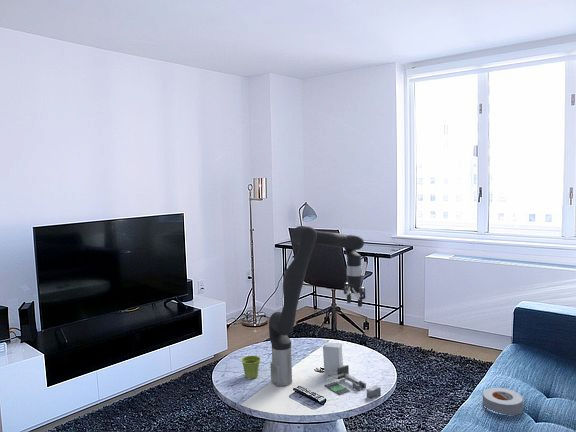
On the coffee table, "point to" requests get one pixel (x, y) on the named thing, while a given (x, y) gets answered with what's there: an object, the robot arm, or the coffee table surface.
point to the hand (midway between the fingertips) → (354, 304)
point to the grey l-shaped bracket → (345, 375)
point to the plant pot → (251, 366)
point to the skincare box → (332, 358)
